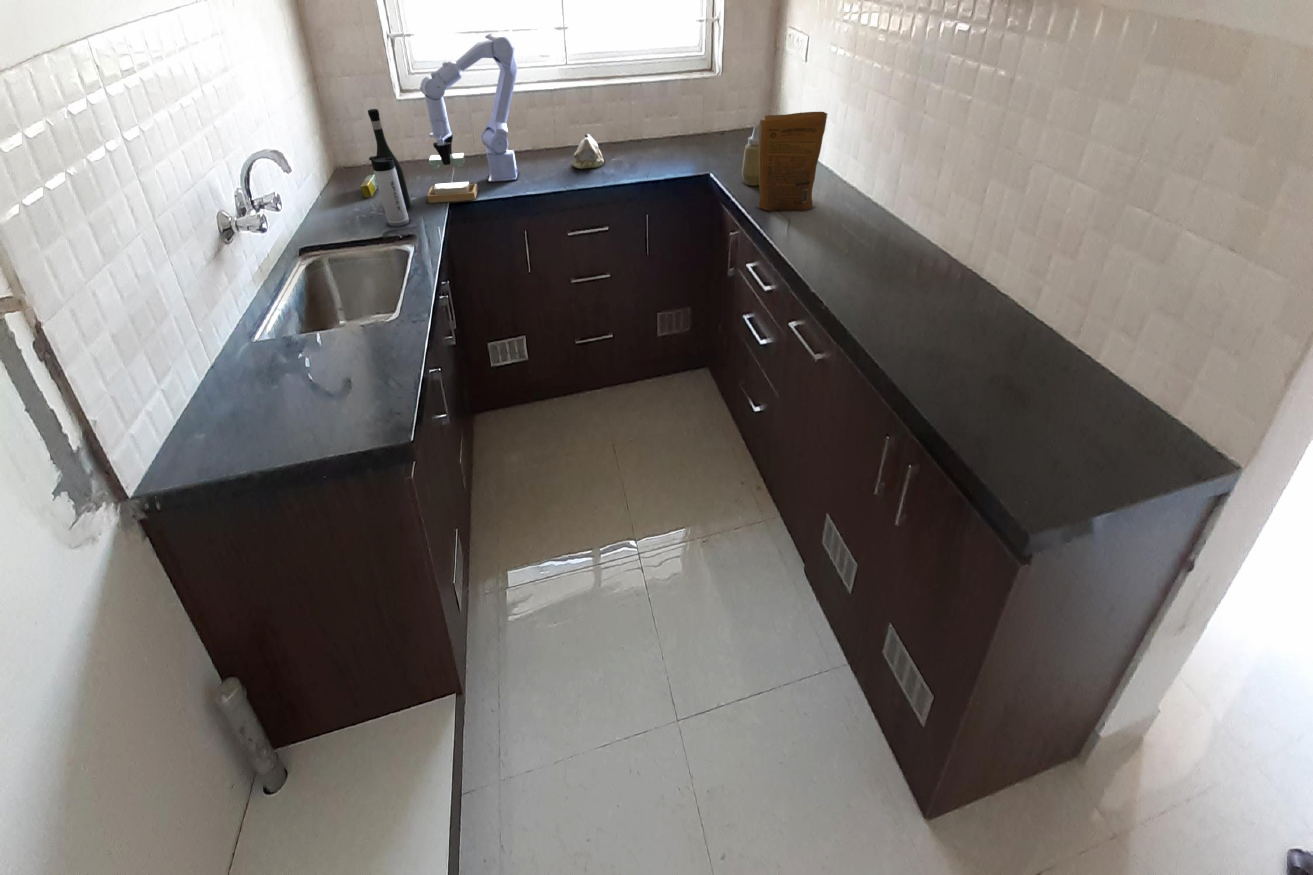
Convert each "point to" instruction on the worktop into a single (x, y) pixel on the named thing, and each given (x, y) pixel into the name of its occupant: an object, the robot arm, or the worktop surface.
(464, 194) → the tray
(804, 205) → the pancake mix bag
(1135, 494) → the worktop surface
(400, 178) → the wine bottle
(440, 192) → the off-white rectangular slab
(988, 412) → the worktop surface
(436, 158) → the sage green thick block
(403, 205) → the travel mug
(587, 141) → the ceramic model
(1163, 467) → the worktop surface
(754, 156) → the squeeze bottle
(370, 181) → the medication box
